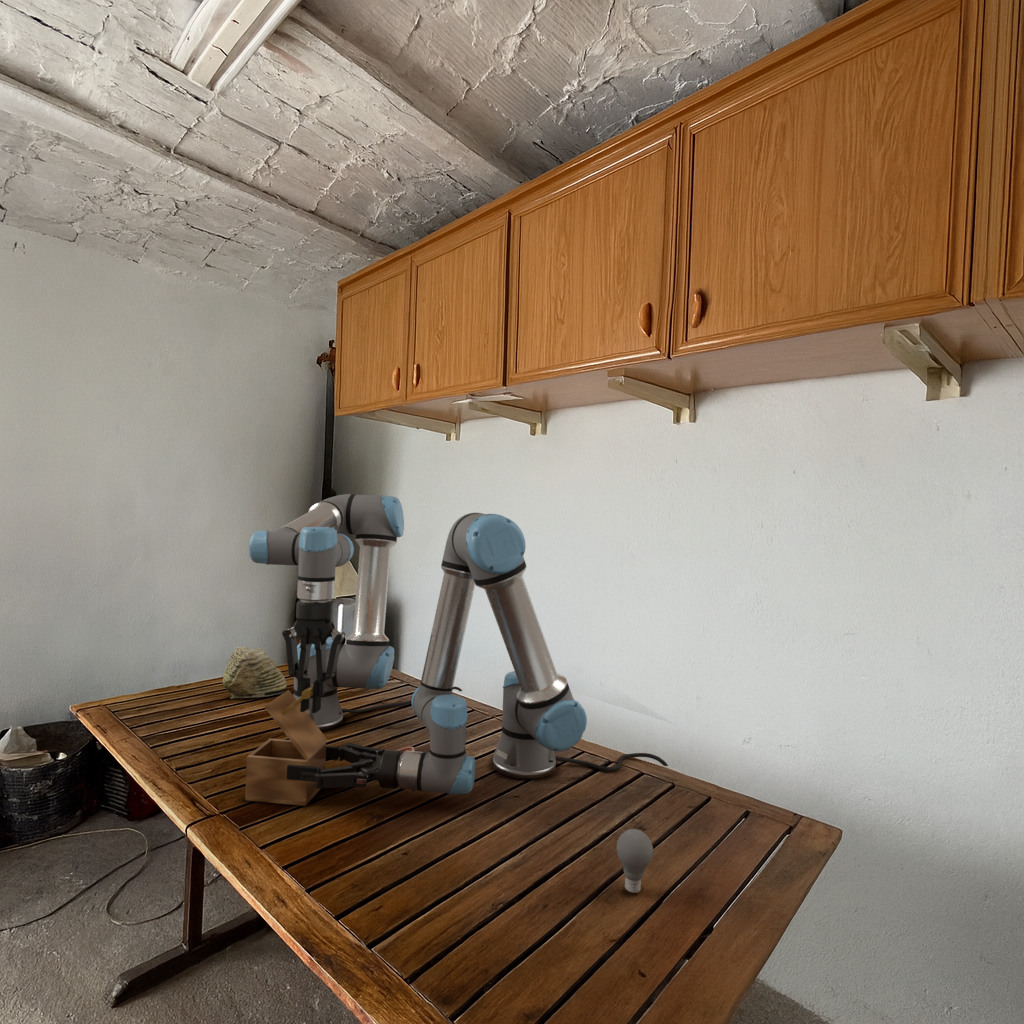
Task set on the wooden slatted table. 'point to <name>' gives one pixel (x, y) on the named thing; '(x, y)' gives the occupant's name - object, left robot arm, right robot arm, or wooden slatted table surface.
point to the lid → (297, 722)
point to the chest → (280, 773)
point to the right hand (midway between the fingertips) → (299, 761)
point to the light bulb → (634, 857)
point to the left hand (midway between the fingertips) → (310, 710)
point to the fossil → (252, 674)
